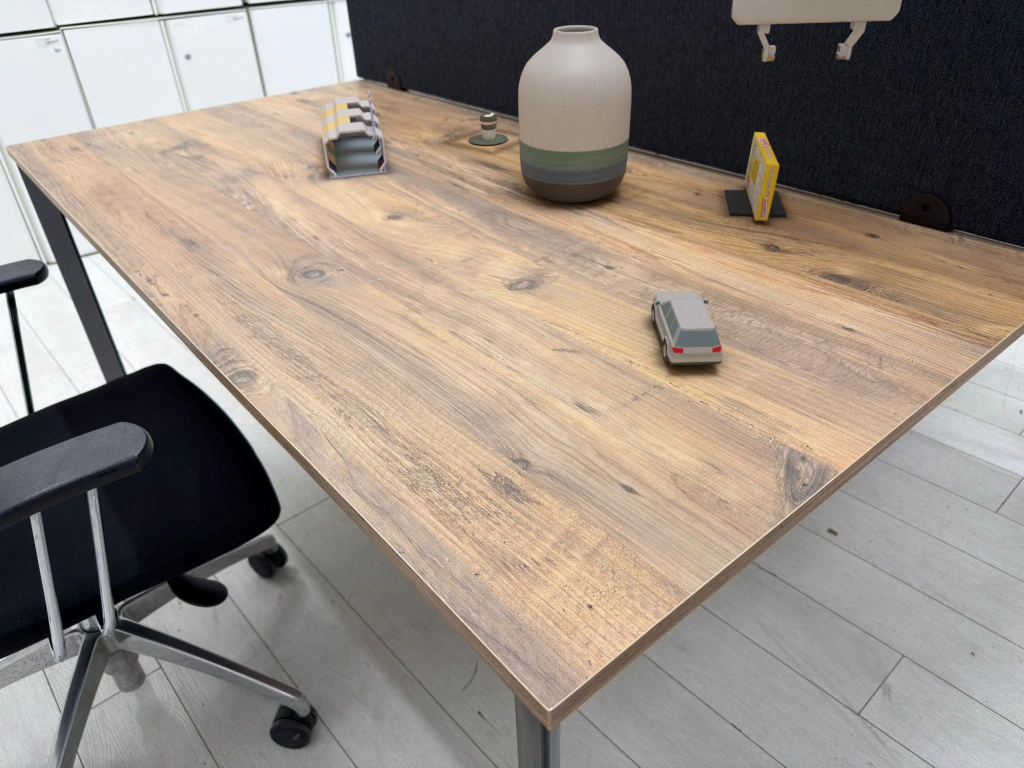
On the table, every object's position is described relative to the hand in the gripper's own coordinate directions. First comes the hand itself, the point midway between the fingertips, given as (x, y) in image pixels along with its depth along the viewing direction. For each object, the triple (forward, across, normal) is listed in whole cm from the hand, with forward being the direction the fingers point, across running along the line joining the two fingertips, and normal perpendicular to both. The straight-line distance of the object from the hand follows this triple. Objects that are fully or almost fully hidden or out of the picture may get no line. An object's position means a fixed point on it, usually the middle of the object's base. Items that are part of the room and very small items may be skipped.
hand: (804, 60), depth 96 cm
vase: (+20, -32, +5) cm, 38 cm away
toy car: (+21, -15, -40) cm, 47 cm away
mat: (+21, -4, +2) cm, 21 cm away
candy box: (+20, -3, +2) cm, 21 cm away
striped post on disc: (+20, -51, +33) cm, 64 cm away
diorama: (+19, -75, +22) cm, 80 cm away
